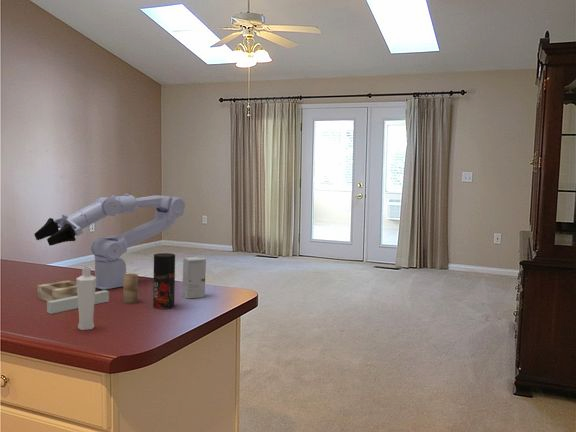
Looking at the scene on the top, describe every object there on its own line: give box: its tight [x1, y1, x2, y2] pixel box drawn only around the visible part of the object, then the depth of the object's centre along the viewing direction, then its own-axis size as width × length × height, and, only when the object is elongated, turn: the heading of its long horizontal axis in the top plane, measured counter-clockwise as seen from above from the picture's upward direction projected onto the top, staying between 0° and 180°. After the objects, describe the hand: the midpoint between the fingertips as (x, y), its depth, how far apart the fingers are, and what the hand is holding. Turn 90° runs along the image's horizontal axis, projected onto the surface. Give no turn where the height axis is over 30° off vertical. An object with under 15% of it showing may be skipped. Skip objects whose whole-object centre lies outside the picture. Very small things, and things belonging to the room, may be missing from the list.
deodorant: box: [152, 252, 176, 310], centre depth 149 cm, size 6×6×15 cm
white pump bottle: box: [75, 266, 97, 331], centre depth 127 cm, size 5×4×15 cm
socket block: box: [36, 279, 77, 303], centre depth 154 cm, size 10×10×4 cm
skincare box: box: [181, 256, 207, 299], centre depth 162 cm, size 6×4×12 cm
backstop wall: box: [46, 289, 110, 315], centre depth 146 cm, size 18×2×3 cm, turn 145°
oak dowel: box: [122, 273, 139, 304], centre depth 153 cm, size 4×4×8 cm
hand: (42, 239), depth 154 cm, fingers open, 7 cm apart
